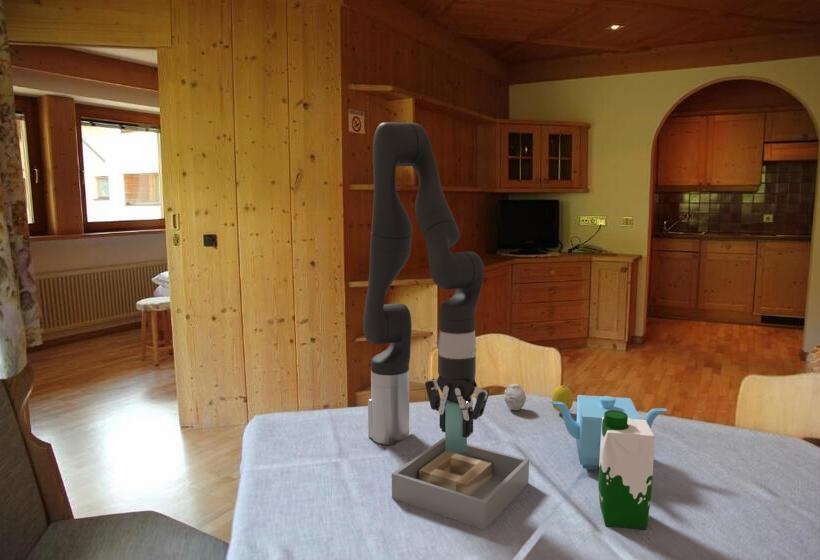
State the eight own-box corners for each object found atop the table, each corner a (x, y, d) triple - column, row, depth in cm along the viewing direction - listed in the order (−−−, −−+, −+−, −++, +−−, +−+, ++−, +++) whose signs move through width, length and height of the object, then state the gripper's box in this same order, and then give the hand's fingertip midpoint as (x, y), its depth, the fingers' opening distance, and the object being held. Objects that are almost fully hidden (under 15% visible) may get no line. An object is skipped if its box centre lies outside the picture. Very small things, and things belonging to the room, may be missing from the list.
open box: (391, 502, 116) (391, 473, 115) (443, 463, 133) (443, 437, 132) (484, 534, 105) (485, 503, 104) (528, 487, 122) (529, 459, 121)
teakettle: (598, 437, 146) (601, 379, 144) (668, 466, 131) (672, 402, 129) (544, 456, 136) (545, 394, 134) (612, 490, 121) (616, 421, 118)
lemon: (573, 418, 158) (574, 389, 157) (551, 416, 160) (552, 388, 158) (571, 410, 164) (572, 382, 163) (551, 409, 165) (551, 381, 164)
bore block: (419, 484, 122) (419, 470, 121) (446, 463, 131) (446, 450, 130) (467, 499, 116) (467, 484, 115) (491, 476, 125) (492, 462, 124)
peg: (441, 450, 121) (441, 402, 120) (451, 442, 125) (452, 396, 123) (460, 455, 119) (460, 407, 117) (470, 447, 123) (471, 400, 121)
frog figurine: (520, 404, 169) (521, 380, 168) (529, 413, 162) (530, 388, 161) (500, 405, 168) (500, 381, 167) (508, 414, 161) (509, 390, 160)
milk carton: (594, 503, 116) (599, 404, 113) (643, 507, 114) (649, 407, 111) (600, 528, 107) (605, 422, 104) (653, 533, 106) (660, 426, 103)
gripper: (416, 351, 120) (416, 432, 122) (480, 362, 112) (479, 448, 115) (435, 343, 126) (435, 420, 128) (497, 352, 118) (496, 435, 121)
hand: (456, 433), depth 121 cm, fingers closed on peg, 4 cm apart
